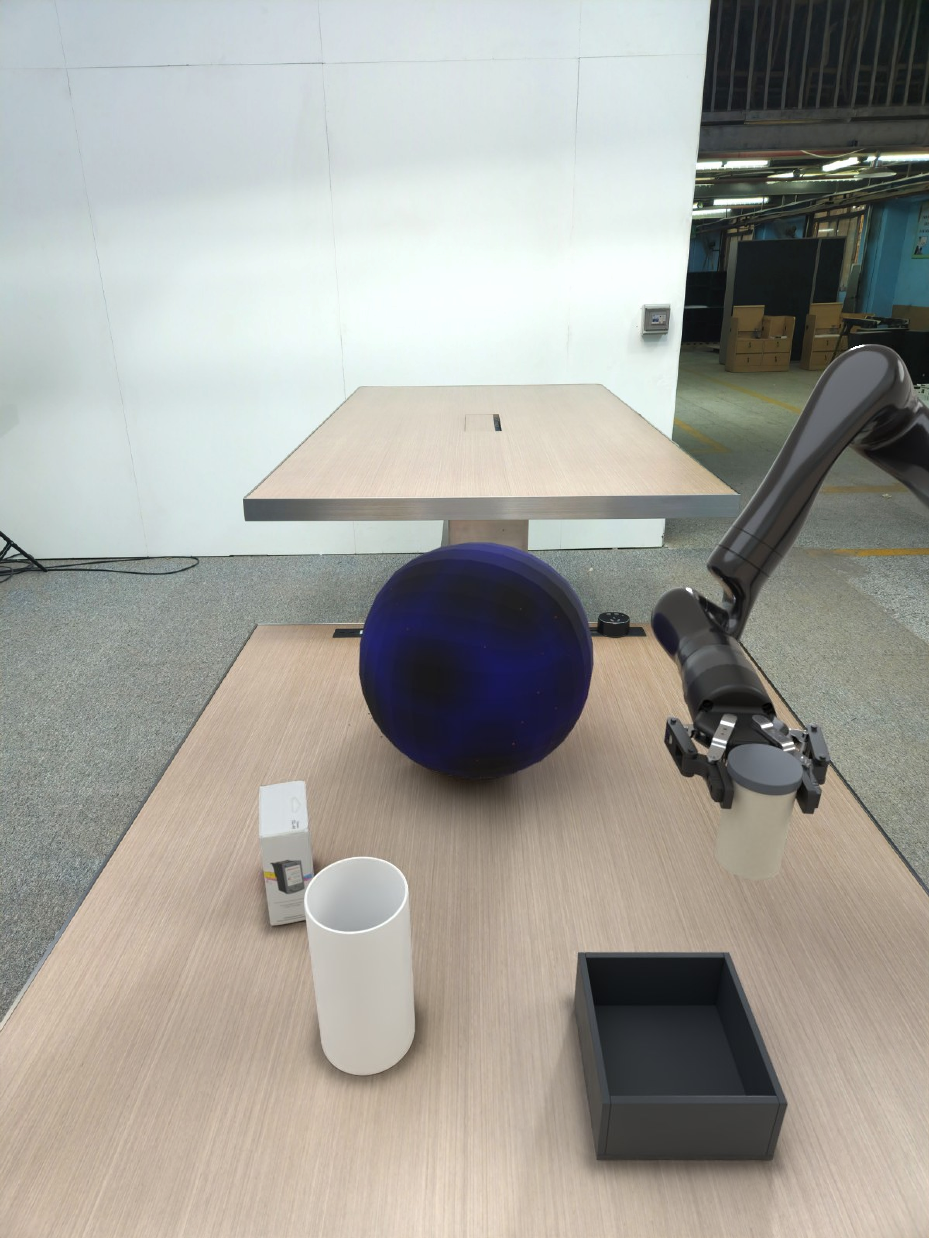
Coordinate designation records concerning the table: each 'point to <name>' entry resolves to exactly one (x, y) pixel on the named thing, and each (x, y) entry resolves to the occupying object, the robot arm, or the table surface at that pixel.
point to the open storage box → (674, 1059)
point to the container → (757, 810)
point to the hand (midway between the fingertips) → (769, 802)
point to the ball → (476, 660)
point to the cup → (361, 963)
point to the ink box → (285, 849)
